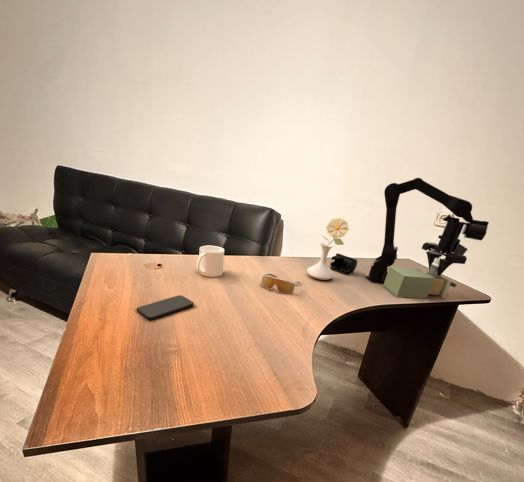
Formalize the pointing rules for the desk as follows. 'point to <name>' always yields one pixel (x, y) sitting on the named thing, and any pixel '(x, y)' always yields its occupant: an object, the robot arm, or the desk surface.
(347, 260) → the end cap
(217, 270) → the mug
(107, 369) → the desk surface
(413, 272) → the cabinet
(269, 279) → the sunglasses
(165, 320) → the desk surface
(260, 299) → the desk surface
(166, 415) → the desk surface
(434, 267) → the pill bottle
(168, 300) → the smartphone
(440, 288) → the drawer
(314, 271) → the flower in vase
